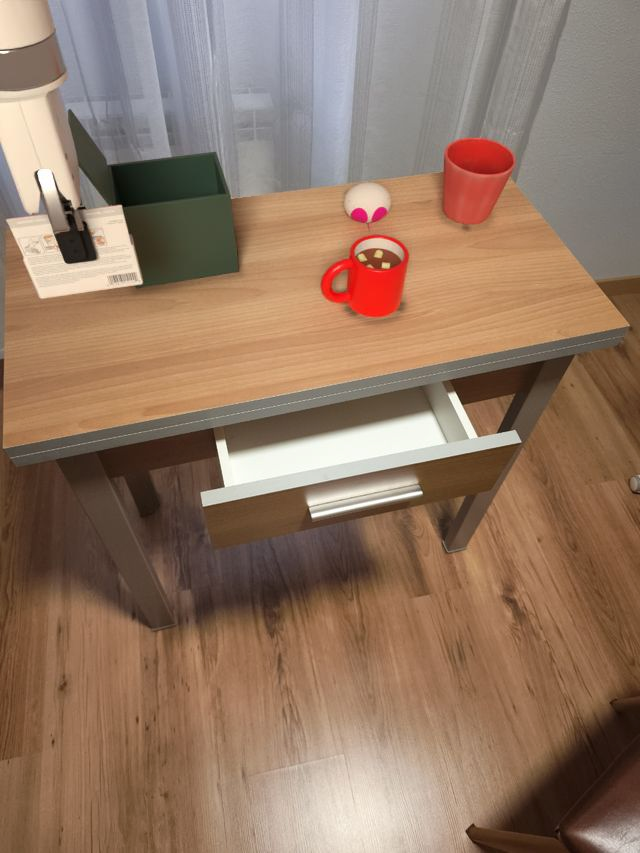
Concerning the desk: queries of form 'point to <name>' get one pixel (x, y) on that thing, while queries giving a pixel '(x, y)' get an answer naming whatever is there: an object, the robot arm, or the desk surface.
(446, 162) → the flower pot
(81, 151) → the green flat rectangular panel
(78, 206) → the robot arm
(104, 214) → the ink cartridge box
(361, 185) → the toy mouse
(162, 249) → the green hollow box
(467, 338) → the desk surface
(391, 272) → the mug
